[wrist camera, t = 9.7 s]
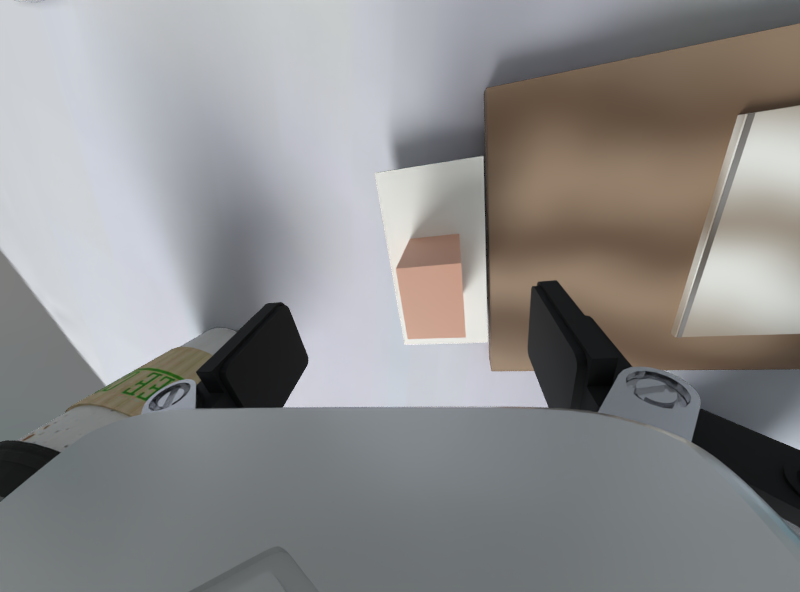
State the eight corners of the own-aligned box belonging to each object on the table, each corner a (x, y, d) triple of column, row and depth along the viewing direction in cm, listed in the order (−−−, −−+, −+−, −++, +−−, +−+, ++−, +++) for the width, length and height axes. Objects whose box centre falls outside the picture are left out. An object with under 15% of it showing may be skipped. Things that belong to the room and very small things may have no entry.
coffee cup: (246, 300, 25) (10, 476, 12) (296, 386, 29) (163, 590, 15) (164, 320, 27) (-104, 481, 14) (220, 396, 31) (51, 577, 18)
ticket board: (483, 93, 16) (492, 77, 12) (1169, -47, 10) (1517, -141, 7) (489, 358, 23) (495, 394, 20) (884, 352, 18) (983, 400, 15)
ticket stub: (376, 172, 17) (345, 182, 12) (482, 155, 16) (496, 159, 11) (405, 341, 22) (392, 395, 17) (487, 339, 21) (497, 396, 16)
